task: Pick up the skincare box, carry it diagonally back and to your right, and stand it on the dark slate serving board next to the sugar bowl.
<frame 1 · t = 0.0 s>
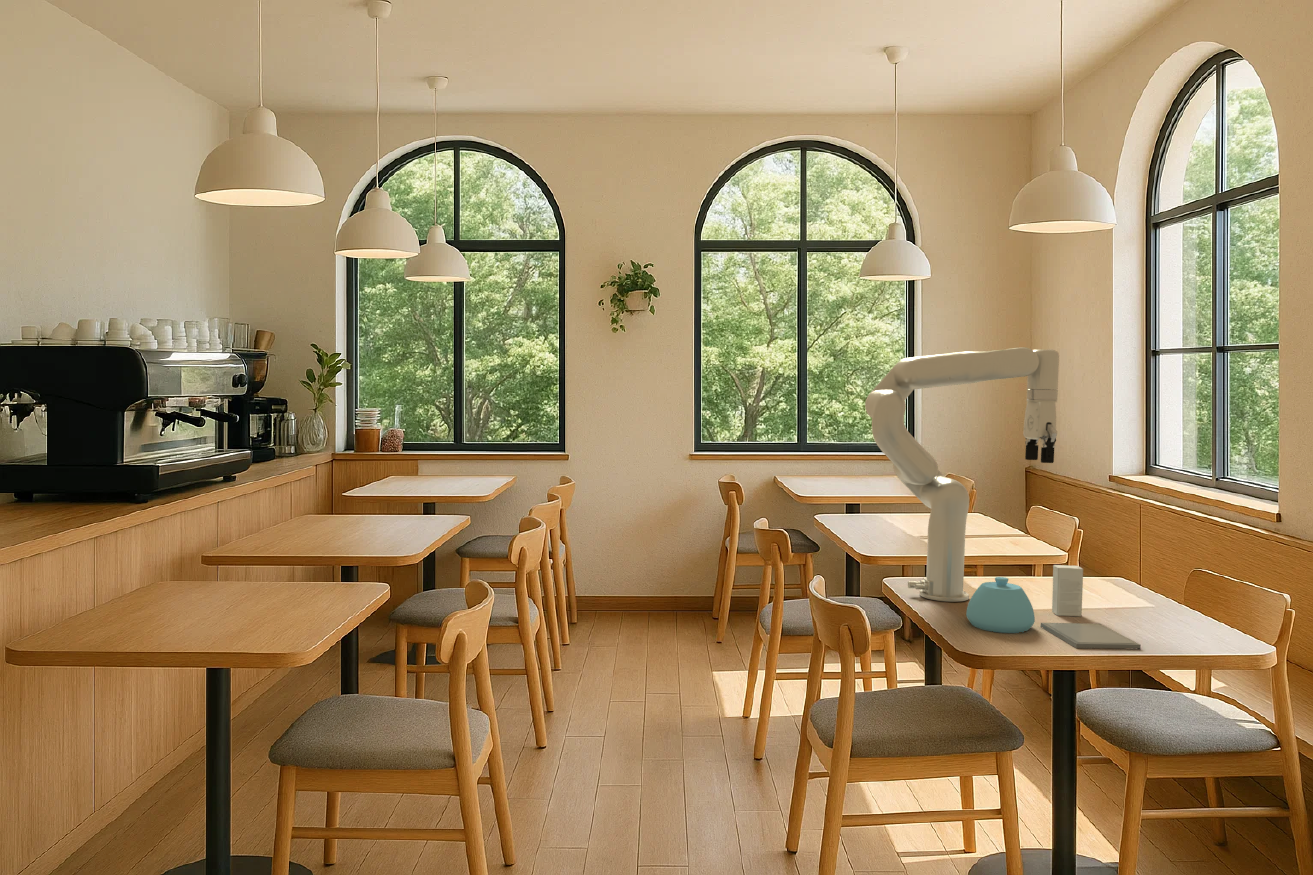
hand: (1039, 461, 248), 37 cm above the table, tool pointing down, fingers open, 9 cm apart
slate board: (1088, 637, 211), on the table
skincare box: (1066, 615, 233), on the table
sugar bowl: (999, 627, 220), on the table
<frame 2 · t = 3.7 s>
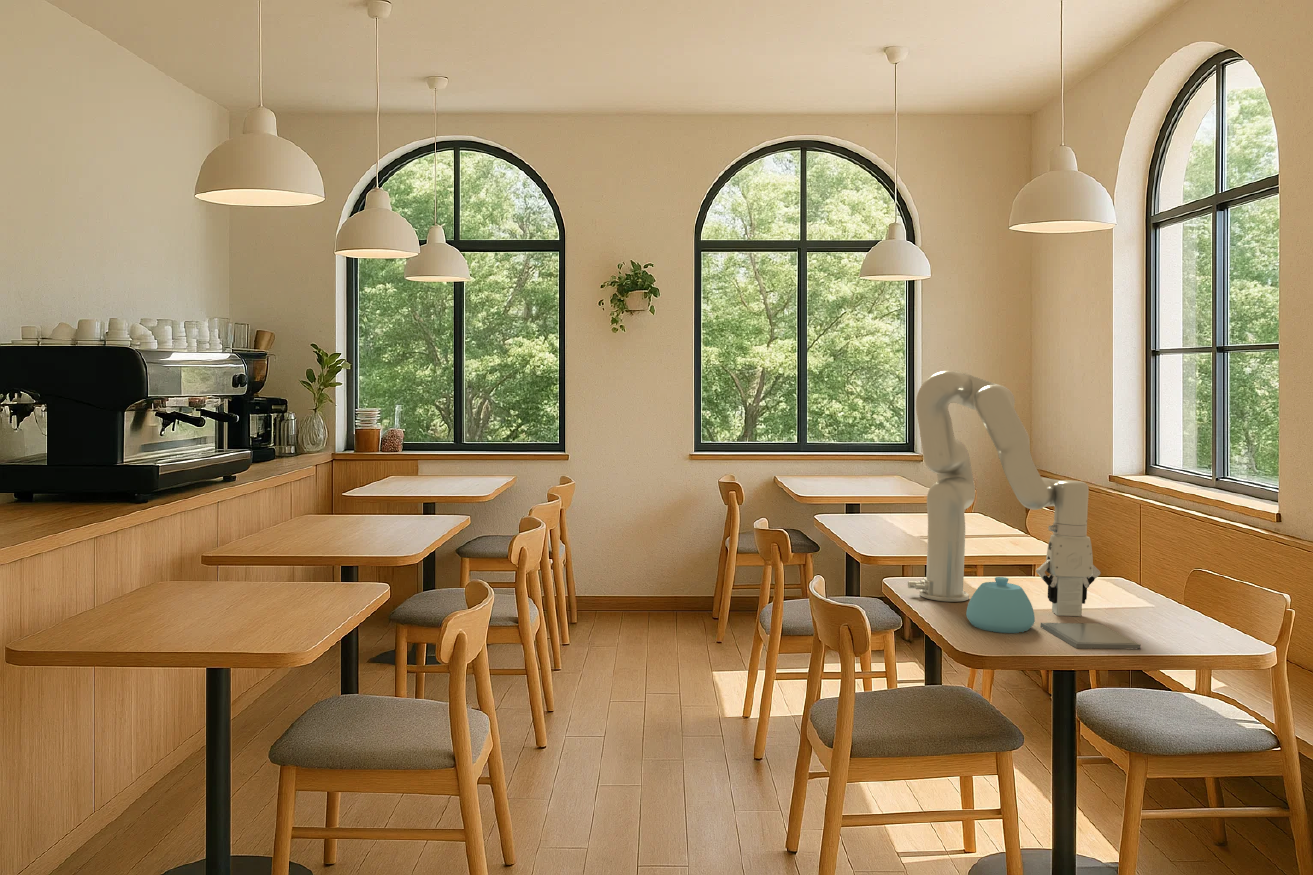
hand: (1066, 601, 233), 3 cm above the table, tool pointing down, fingers closed on skincare box, 6 cm apart
skincare box: (1066, 615, 233), on the table, touching gripper
everything else where it was.
when the fingers open (5 cm above the table, at t = 9.8 s): skincare box stays where it is, resting on slate board.
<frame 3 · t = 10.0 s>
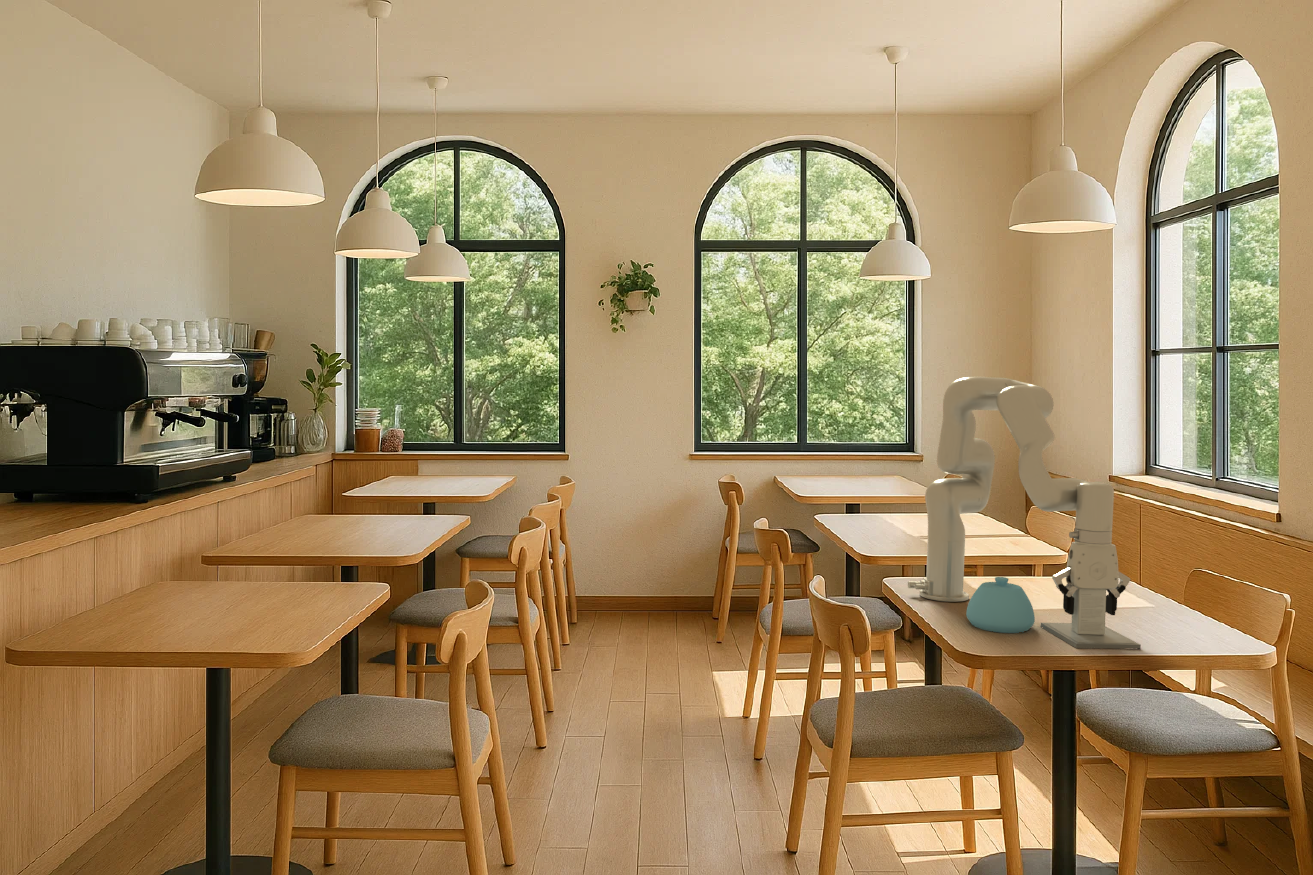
hand: (1089, 613, 211), 6 cm above the table, tool pointing down, fingers open, 9 cm apart
skincare box: (1087, 633, 211), point 1 cm above the table, touching slate board
everything else where it was.
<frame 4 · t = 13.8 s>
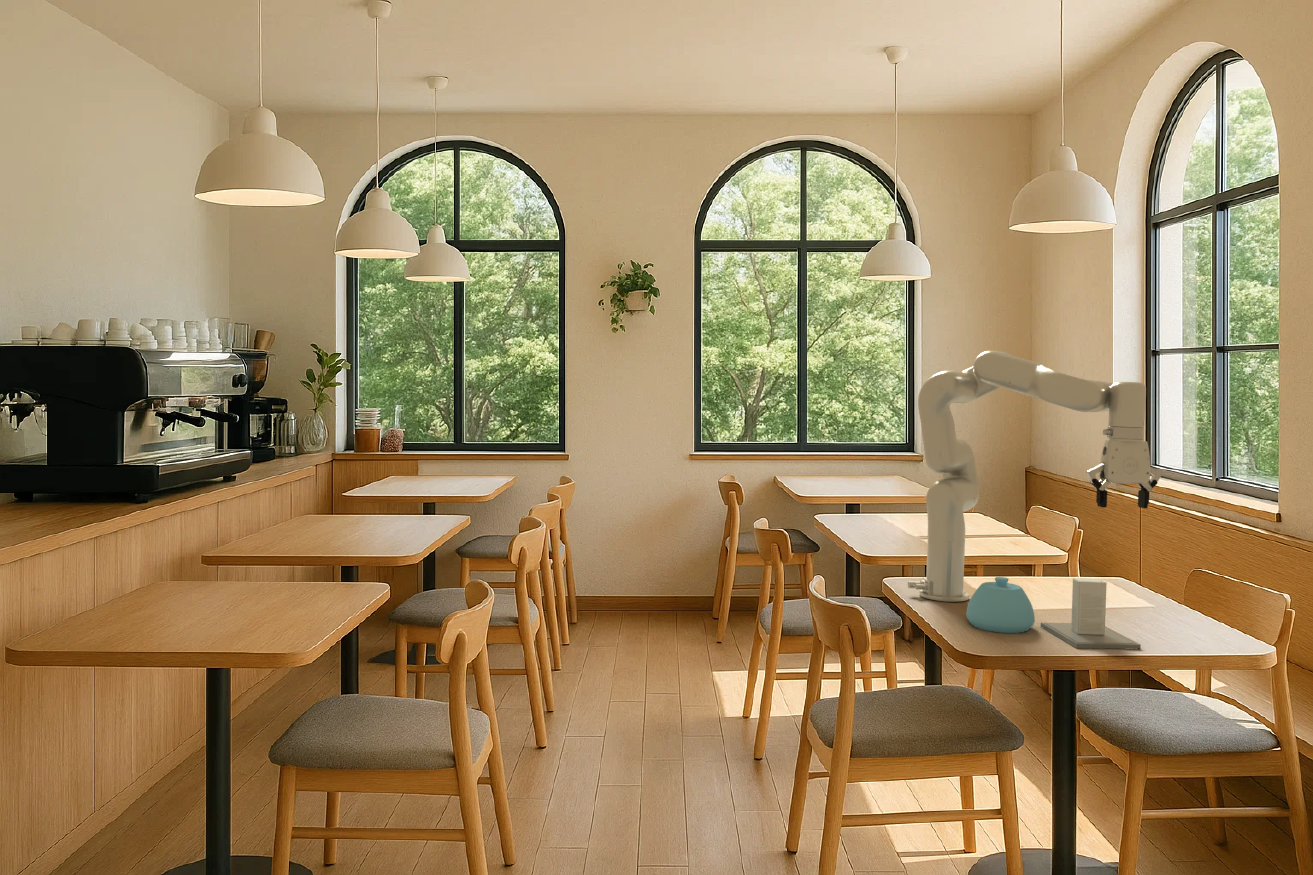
hand: (1122, 507, 221), 28 cm above the table, tool pointing down, fingers open, 9 cm apart
nothing on the table moved.
at the end: skincare box inside the target area on the slate board (0.3 cm from its centre), point 0.9 cm above the slate board's base; skincare box tilted 0°; the gripper is holding nothing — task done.
